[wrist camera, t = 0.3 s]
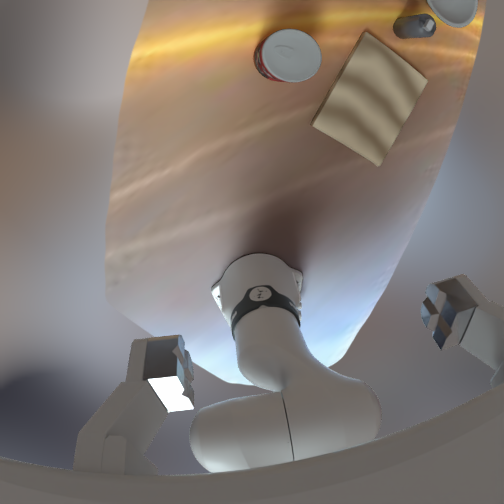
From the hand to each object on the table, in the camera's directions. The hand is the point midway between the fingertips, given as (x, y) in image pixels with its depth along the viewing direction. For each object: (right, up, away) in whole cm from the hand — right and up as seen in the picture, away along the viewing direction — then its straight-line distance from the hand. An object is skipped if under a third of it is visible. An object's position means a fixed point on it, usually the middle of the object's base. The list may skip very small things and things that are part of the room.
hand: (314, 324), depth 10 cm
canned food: (+2, +33, +36) cm, 49 cm away
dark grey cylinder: (+25, +42, +33) cm, 59 cm away
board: (+19, +29, +40) cm, 53 cm away
